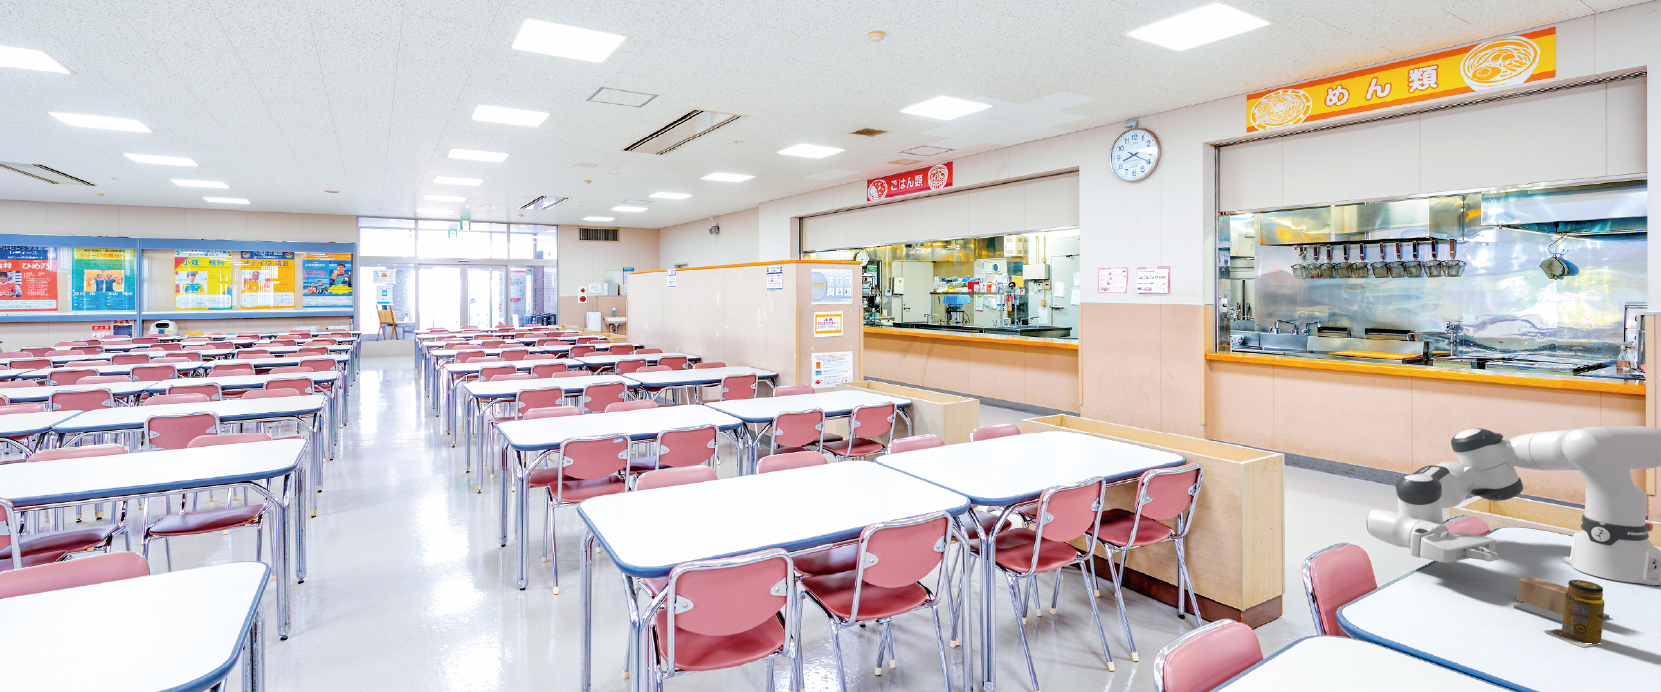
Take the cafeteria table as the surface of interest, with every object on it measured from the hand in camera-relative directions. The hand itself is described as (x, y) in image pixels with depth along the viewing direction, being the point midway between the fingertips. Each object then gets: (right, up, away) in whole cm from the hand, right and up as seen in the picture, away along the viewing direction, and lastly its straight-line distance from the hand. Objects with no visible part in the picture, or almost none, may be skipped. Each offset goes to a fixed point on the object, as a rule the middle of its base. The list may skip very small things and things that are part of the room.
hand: (1494, 557), depth 185 cm
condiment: (-3, -11, -23) cm, 26 cm away
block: (+3, -6, -4) cm, 8 cm away
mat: (+6, -10, -11) cm, 16 cm away
